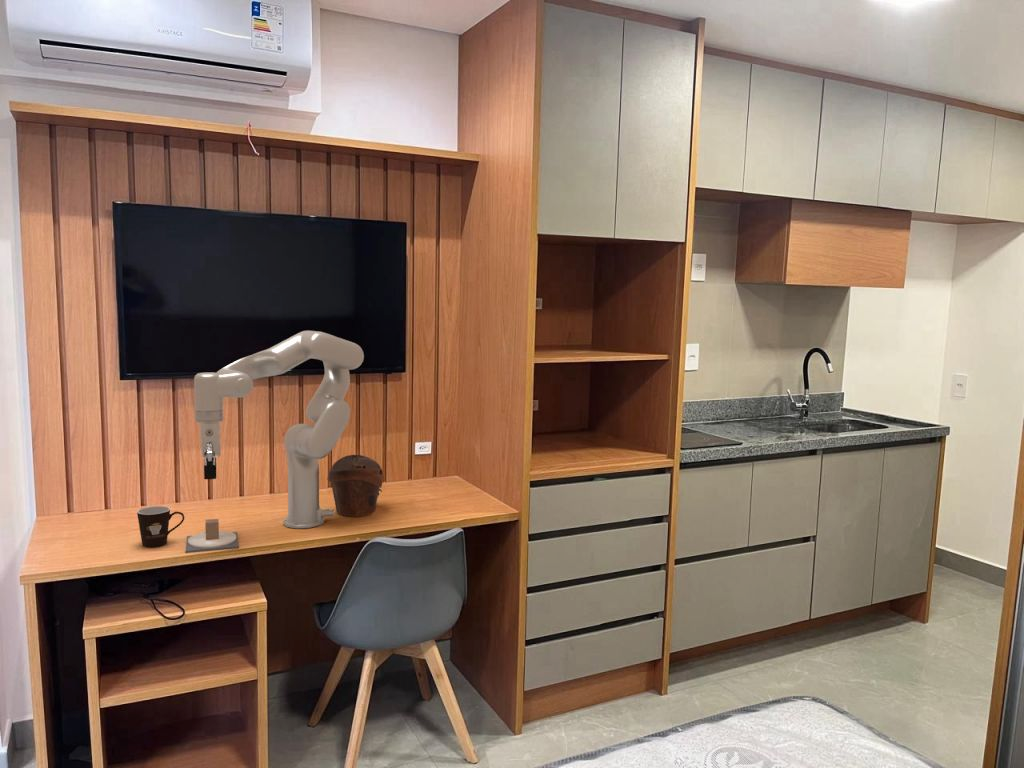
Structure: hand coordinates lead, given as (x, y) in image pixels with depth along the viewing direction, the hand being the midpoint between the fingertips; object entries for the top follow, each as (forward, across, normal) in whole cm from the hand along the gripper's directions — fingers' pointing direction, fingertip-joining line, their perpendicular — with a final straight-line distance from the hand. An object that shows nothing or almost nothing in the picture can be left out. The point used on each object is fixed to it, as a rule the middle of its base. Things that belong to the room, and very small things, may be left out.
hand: (210, 475), depth 221 cm
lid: (+20, 0, 0) cm, 20 cm away
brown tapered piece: (+20, +20, -45) cm, 53 cm away
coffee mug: (+20, +3, +14) cm, 25 cm away
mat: (+20, 0, 0) cm, 20 cm away
